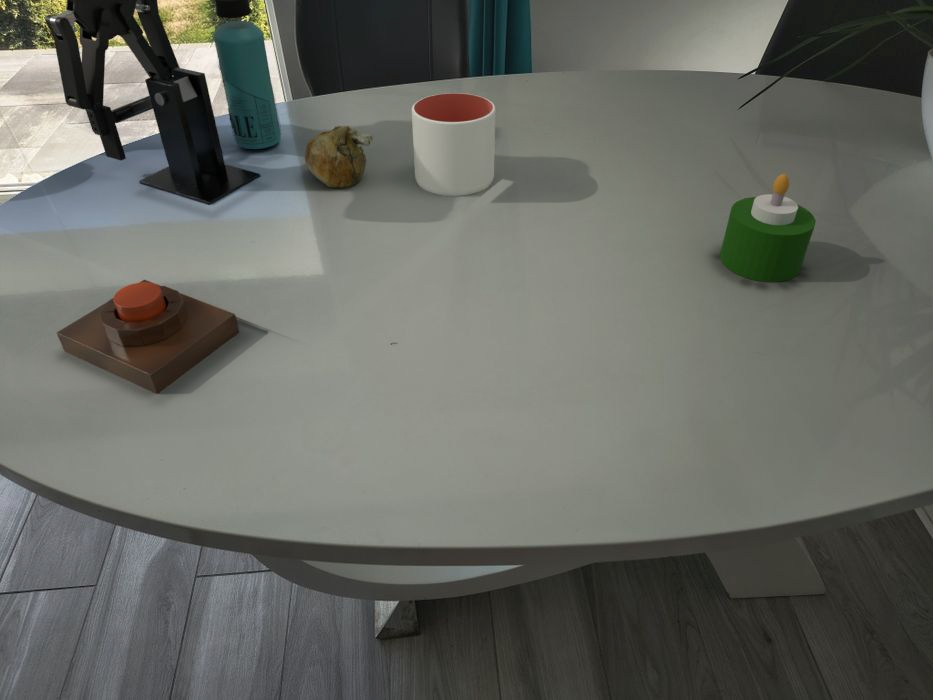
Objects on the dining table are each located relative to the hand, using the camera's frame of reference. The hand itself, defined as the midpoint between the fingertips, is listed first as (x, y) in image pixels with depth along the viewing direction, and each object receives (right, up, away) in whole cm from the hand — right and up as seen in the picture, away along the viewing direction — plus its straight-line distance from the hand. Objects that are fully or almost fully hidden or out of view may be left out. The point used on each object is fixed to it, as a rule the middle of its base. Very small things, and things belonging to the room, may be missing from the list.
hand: (143, 145), depth 95 cm
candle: (+73, -17, -16) cm, 77 cm away
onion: (+26, -5, -1) cm, 26 cm away
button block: (+13, -26, -27) cm, 39 cm away
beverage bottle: (+13, +1, +7) cm, 15 cm away
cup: (+40, -6, -1) cm, 41 cm away
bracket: (+8, -6, -1) cm, 10 cm away
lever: (+5, +3, -6) cm, 8 cm away
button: (+13, -23, -29) cm, 39 cm away
